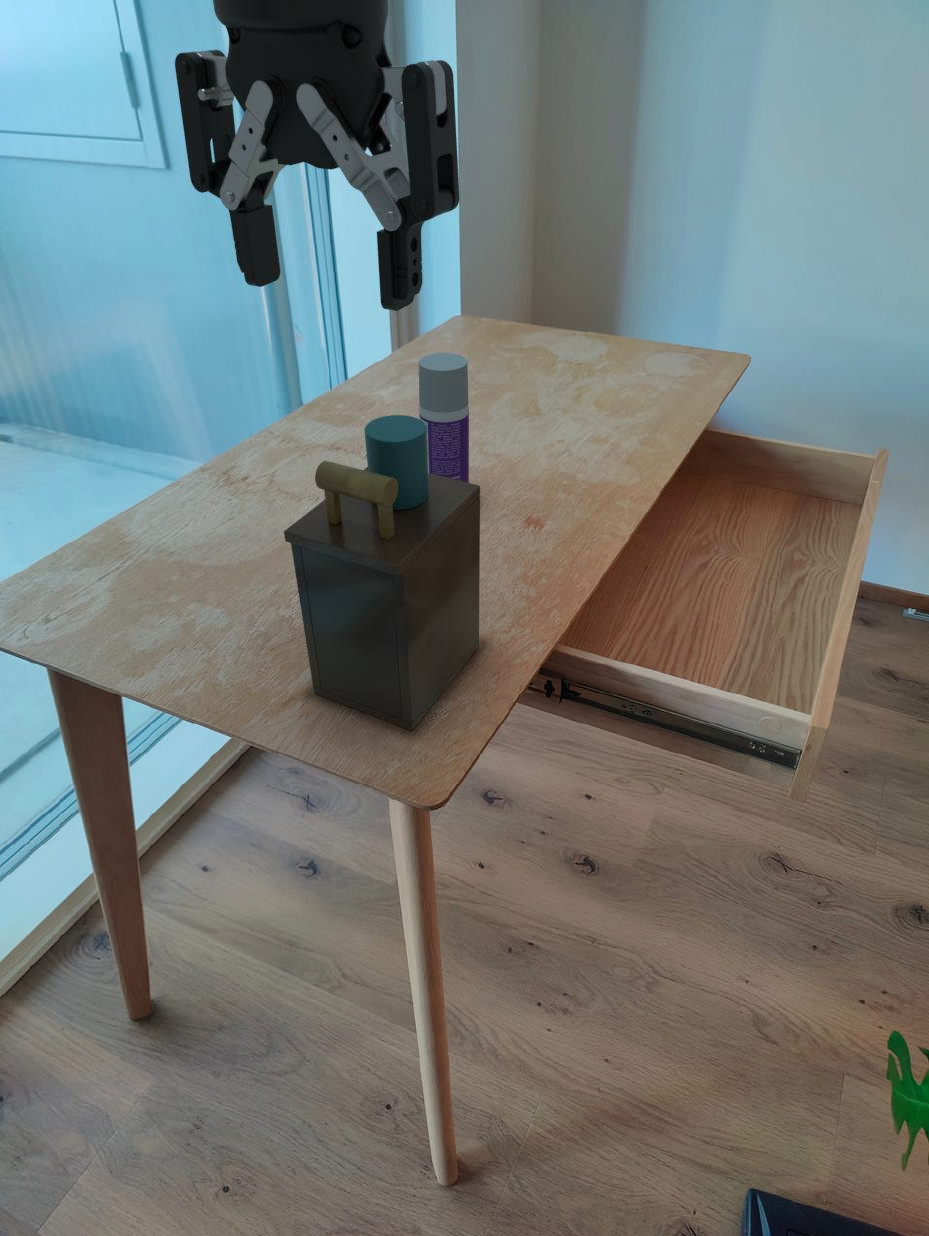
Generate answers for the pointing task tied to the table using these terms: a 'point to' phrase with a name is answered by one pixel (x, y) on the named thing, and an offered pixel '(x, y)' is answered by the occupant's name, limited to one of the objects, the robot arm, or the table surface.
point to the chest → (392, 624)
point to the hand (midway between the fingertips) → (329, 294)
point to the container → (445, 413)
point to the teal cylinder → (400, 456)
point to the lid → (377, 517)
